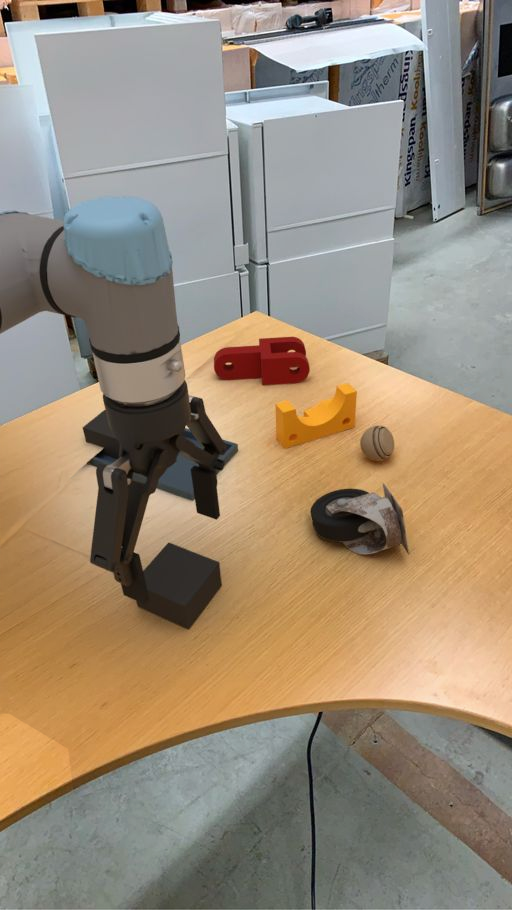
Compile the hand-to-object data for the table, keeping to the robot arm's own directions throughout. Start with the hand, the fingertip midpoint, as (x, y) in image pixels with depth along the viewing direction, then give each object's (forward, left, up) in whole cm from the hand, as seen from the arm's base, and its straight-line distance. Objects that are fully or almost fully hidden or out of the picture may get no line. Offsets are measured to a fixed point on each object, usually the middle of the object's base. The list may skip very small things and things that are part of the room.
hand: (174, 553), depth 71 cm
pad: (-25, +20, -7) cm, 32 cm away
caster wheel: (+14, +18, -7) cm, 24 cm away
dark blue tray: (-18, +20, -7) cm, 28 cm away
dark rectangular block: (0, 0, -7) cm, 7 cm away
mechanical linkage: (-15, +47, -7) cm, 50 cm away
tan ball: (+11, +34, -7) cm, 36 cm away
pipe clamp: (0, +36, -7) cm, 37 cm away
